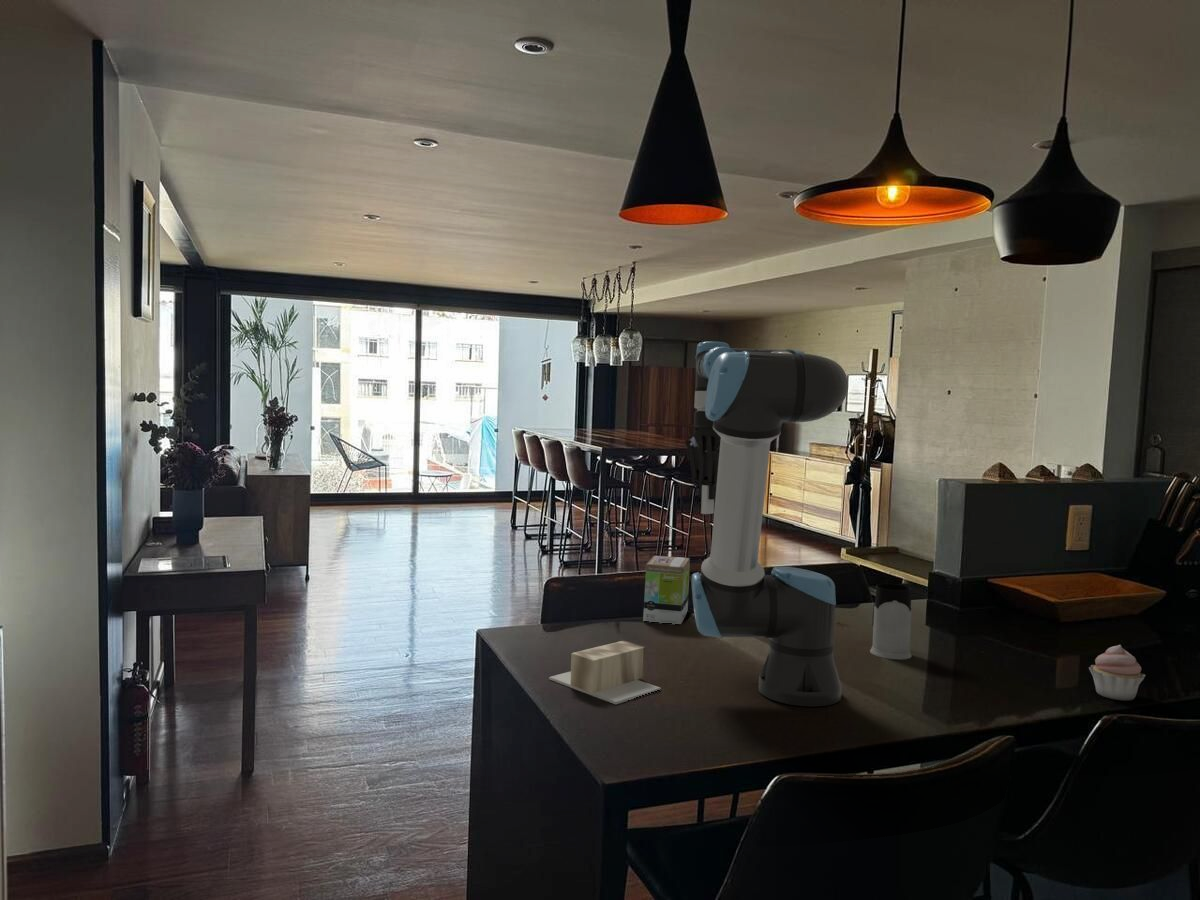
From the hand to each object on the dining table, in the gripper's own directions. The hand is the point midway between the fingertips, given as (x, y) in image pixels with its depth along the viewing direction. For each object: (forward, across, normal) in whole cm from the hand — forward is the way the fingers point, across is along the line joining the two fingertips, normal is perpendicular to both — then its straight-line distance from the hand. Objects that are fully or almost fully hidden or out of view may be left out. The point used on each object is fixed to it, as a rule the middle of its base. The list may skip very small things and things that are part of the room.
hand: (707, 513), depth 192 cm
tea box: (+30, +20, -10) cm, 37 cm away
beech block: (+26, -8, +32) cm, 42 cm away
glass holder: (+30, -32, -27) cm, 51 cm away
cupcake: (+30, -76, -32) cm, 87 cm away
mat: (+29, -8, +40) cm, 50 cm away
